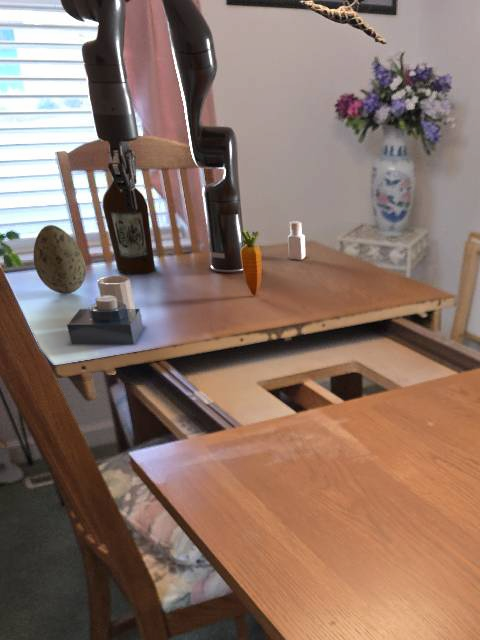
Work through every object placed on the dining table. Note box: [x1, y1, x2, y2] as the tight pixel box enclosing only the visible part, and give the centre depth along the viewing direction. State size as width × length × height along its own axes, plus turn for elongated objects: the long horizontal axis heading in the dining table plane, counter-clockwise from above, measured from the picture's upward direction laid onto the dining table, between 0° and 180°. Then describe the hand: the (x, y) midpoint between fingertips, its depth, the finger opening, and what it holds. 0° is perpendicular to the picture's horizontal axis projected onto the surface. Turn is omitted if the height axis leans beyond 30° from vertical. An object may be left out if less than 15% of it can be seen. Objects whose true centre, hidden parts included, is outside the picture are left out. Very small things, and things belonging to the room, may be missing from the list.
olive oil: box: [102, 179, 156, 275], centre depth 179 cm, size 11×11×25 cm
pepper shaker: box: [287, 220, 306, 261], centre depth 198 cm, size 4×4×10 cm
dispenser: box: [66, 302, 144, 345], centre depth 143 cm, size 12×10×6 cm
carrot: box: [240, 229, 263, 297], centre depth 166 cm, size 5×5×15 cm
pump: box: [94, 296, 118, 310], centre depth 141 cm, size 4×4×2 cm
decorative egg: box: [33, 224, 87, 295], centre depth 163 cm, size 11×11×15 cm
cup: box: [97, 275, 136, 309], centre depth 152 cm, size 6×6×8 cm
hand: (131, 210), depth 141 cm, fingers closed
